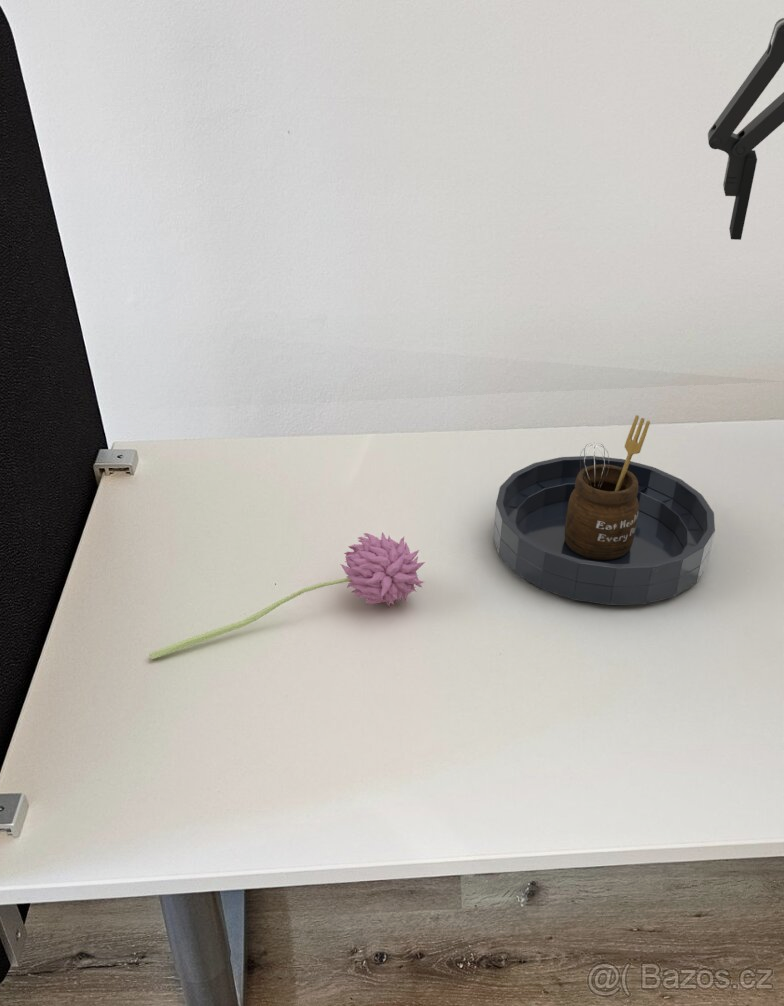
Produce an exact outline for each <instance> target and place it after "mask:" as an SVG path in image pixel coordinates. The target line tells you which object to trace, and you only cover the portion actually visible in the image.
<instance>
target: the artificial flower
mask: <svg viewBox="0 0 784 1006" xmlns="http://www.w3.org/2000/svg"><path fill="white" fill-rule="evenodd" d="M363 535H364V537H363V536H359V537H357V539H358V540H357V541H358V543H359V544H358V543H356V544H351V545H348V548H349V549H351V550H352V551H346V552H344V553H343V554H344V555H345V563H346V565H347V566H346V565H344V564H342V563H340V567H341V568H342V569H343V572H344V574H345V575H346V576H345V578H340V579H335V580H331V581H325V582H320V583H317V584H316V583H315V584H313V585H309V586H306V587H304V588H301V589H299V590H297V591H295V592H293V593H291V594H289V595H287V596H284V597H283V598H281V599H279V600H277V601H275V602H274V603H272V604H270V605H268V606H266V607H264V608H263V609H260V610H259V611H257V612H255V613H253V614H252V615H250V616H247V617H246V618H244V619H242V620H239V621H237V622H234V623H231V624H227V625H225V626H222V627H219V628H215V629H213V630H209V631H206V632H204V633H201V634H198V635H196V636H192V637H188V638H186V639H183V640H181V641H178V642H175V643H173V644H169V645H167V646H164V647H161V648H159V649H157V650H155V651H152V652H149V653H148V655H149V658H150V660H154V659H157V658H160V657H163V656H166V655H169V654H172V653H174V652H177V651H179V650H183V649H185V648H188V647H191V646H194V645H197V644H200V643H202V642H204V641H208V640H210V639H213V638H216V637H218V636H222V635H224V634H228V633H230V632H233V631H236V630H238V629H241V628H243V627H245V626H248V625H250V624H251V623H253V622H256V621H258V620H259V619H261V618H263V617H264V616H266V615H267V614H269V613H270V612H272V611H273V610H275V609H277V608H278V607H280V606H281V605H283V604H285V603H287V602H289V601H291V600H293V599H295V598H297V597H299V596H301V595H302V594H304V593H308V592H310V591H314V590H317V589H320V588H323V587H327V586H333V585H339V584H344V583H347V585H346V589H348V588H354V589H353V590H351V591H350V593H354V594H352V596H353V597H358V598H363V599H367V600H366V603H365V604H366V605H367V604H371V605H376V604H380V603H381V604H382V603H386V605H387V606H388V608H390V607H391V605H390V604H392V605H395V601H397V600H399V601H401V600H402V599H403V602H404V603H407V599H408V596H409V594H411V593H413V592H417V589H416V586H417V587H418V588H423V586H422V584H424V583H425V581H423V580H420V579H419V577H418V576H419V575H418V573H417V571H418V570H419V569H420V568H421V567H423V565H424V564H425V563H426V561H423V562H418V559H419V556H418V553H419V552H420V549H418V550H416V551H413V552H411V549H410V547H409V545H408V544H407V542H406V541H405V536H403V537H402V538H400V541H399V542H397V541H396V540H394V539H392V538H391V537H390V535H388V537H387V536H386V535H385V534H384V532H383V531H382V532H381V537H380V539H379V538H378V537H377V536H375V535H374V534H371V533H368V532H363ZM360 543H361V544H360Z"/></svg>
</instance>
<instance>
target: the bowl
mask: <svg viewBox="0 0 784 1006" xmlns="http://www.w3.org/2000/svg"><path fill="white" fill-rule="evenodd" d="M625 461H626V459H623V458H616V457H609V461H608V456H607V457H606V456H605V465H614V466H618V467H621V468H623V466H624V463H625ZM600 464H604V458H603V456H599V455H598V456H597V455H595V465H600ZM585 465H586V467H588V466H592V465H594V455H586V457H585ZM582 469H584V455H581V469H580V455H578V456H560V457H555V458H551V459H545V460H542V461H537V462H534V463H530V464H529V465H527V466H525V467H523V468H521V469H519V470H517V471H514V472H513V473H512V474H511V475H510V476H509V477H508V478H507V479H506V480H505V481H504V482H503V483H502V484H501V485H500V486H499V489H498V493H497V497H496V502H495V509H494V520H493V531H492V539H493V542H494V546H495V548H496V551H497V554H498V556H499V558H500V559H502V560H503V562H504V563H505V564H506V565H507V566H508V567H509V568H510V569H511V570H512V572H514V574H516V575H517V576H519V577H521V578H522V579H524V580H526V581H528V582H529V583H531V584H533V585H534V586H536V587H537V588H539V589H541V590H543V591H547V592H549V593H553V594H556V595H558V596H561V597H564V598H566V599H570V600H572V601H573V600H574V601H580V602H587V603H593V604H600V605H606V606H607V605H608V606H629V605H647V604H651V603H655V602H658V601H663V600H667V599H670V598H671V599H672V598H674V597H677V596H678V595H679V594H681V593H682V592H684V591H686V590H688V589H689V588H691V587H693V586H694V585H696V584H697V583H698V581H699V580H700V578H701V577H702V575H703V574H704V572H705V570H706V569H707V568H708V563H709V559H710V554H711V549H712V545H713V541H714V536H715V533H716V525H715V512H714V511H713V509H712V507H711V506H710V504H709V503H708V501H707V500H706V498H705V497H704V495H703V494H702V493H700V492H699V491H698V490H696V489H695V488H693V487H692V486H691V485H690V484H688V483H687V482H685V481H684V480H683V479H682V478H679V477H677V476H675V475H672V474H670V473H669V472H666V471H664V470H662V469H659V468H657V467H655V466H651V465H647V464H643V463H640V462H635V461H632V460H630V463H629V466H628V469H627V470H628V471H630V472H631V473H633V474H634V475H635V476H636V478H637V480H638V494H637V496H636V497H637V499H638V503H639V511H638V518H637V524H636V530H635V535H634V539H633V543H632V546H631V548H630V550H629V551H628V552H627V553H626V554H625V555H624V556H622V557H620V558H617V559H612V560H595V559H590V558H586V557H583V556H581V555H579V554H577V553H575V552H574V551H573V550H571V549H570V548H569V546H568V545H567V543H566V541H565V523H566V516H567V509H568V503H569V498H570V495H571V493H572V492H573V490H574V489H575V481H576V478H577V475H578V473H579V472H580V471H581V470H582Z"/></svg>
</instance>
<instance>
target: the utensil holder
mask: <svg viewBox="0 0 784 1006" xmlns="http://www.w3.org/2000/svg"><path fill="white" fill-rule="evenodd" d="M639 419H640V420H639ZM638 421H639V423H638ZM644 422H645V417H641V418H640V416H639V415H638V414H636V415H635V417H634V419H633V422H632V424H631V427H630V430H629V432H628V435H627V438H626V440H625V442H624V449H625V450H626V452H627V455H626V458H625V460H626V461H625V463H624V466H623V468H621V467H618V466H614V465H605V457H606V453H607V457H608V461H609V458H610V455H609V452H608V450H607V448H606V447H605V446H604V444H603V443H600V442H598V443H595V442H593V443H591V444H589V443H586V445H585V446H584V448H583V449H582V450H581V451H580V454H579V456H580V469H581V456H582V453H583V456H584V469H582V470H581V471H580V472H579V473H578V475H577V478H576V481H575V489H574V490H573V492H572V493H571V495H570V498H569V503H568V509H567V516H566V523H565V541H566V543H567V545H568V546H569V548H570V549H571V550H573V551H574V552H575V553H577V554H579V555H581V556H583V557H586V558H590V559H595V560H612V559H617V558H620V557H622V556H624V555H625V554H626V553H627V552H628V551H629V550H630V548H631V546H632V543H633V539H634V535H635V530H636V524H637V518H638V511H639V503H638V499H637V497H636V496H637V494H638V480H637V478H636V476H635V475H634V474H633V473H631V472H630V471H628V470H627V469H628V466H629V463H630V461H632V458H633V456H634V455H638V454H640V453H641V451H642V447H643V445H644V442H645V439H646V436H647V433H648V430H649V427H650V424H651V421H650V420H647V421H646V422H645V423H644ZM644 424H645V425H644ZM637 425H638V426H637ZM643 426H644V427H643ZM635 430H636V431H635ZM634 433H635V434H634ZM640 434H641V435H640ZM588 447H591V448H593V456H594V465H592V466H588V467H586V465H585V457H586V456H587V454H588V452H589V451H590V449H587V451H586V448H588ZM599 447H601V448H603V452H602V450H601V449H600V448H599ZM596 448H597V449H598V450H599V452H600V453H601V455H602V457H603V458H604V464H600V465H595V456H596ZM605 451H606V452H605Z"/></svg>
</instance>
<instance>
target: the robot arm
mask: <svg viewBox="0 0 784 1006" xmlns="http://www.w3.org/2000/svg"><path fill="white" fill-rule="evenodd" d="M783 64H784V17H782V18H780V19H778V20H777V21H776V22H775V24H774V26H773V30H772V32H771V36H770V39H769V42H768V46H767V48H766V50H765V51H764V53H763V54H762V55H761V57H760V59H758V61H757V63H756V64H755V65H754V67H753V68H752V70H751V71H750V72H749V74H748V75H747V77H746V78H745V79H744V81H743V82H742V84H741V85H740V87H739V88H738V89H737V90H736V92H735V93H734V95H733V96H732V97H731V98H730V100H729V102H728V103H727V104H726V106H725V107H724V109H723V111H722V112H721V113H720V115H719V116H718V117H717V119H716V120H715V121H714V123H713V125H712V126H711V127H710V129H709V130H708V132H707V142H708V145H709V148H711V149H712V150H719V151H722V152H724V153H726V154H727V155H728V158H727V161H726V162H727V163H726V168H725V173H724V180H723V184H722V186H723V193H724V195H725V197H735V198H734V203H733V208H732V212H731V218H730V223H729V237H730V240H736V241H737V240H738V241H739V240H742V238H743V232H744V227H745V221H746V217H747V212H748V207H749V204H750V203H749V202H750V197H751V192H752V188H753V183H754V178H755V172H756V167H757V162H758V157H757V153H756V150H754V149H755V148H756V147H757V146H758V145H759V144H761V143H762V142H763V141H764V140H765V139H767V138H768V137H769V136H770V135H771V134H772V133H773V132H774V131H776V129H778V128H779V127H780V126H781V125H783V123H784V91H783V92H782V93H781V94H780V95H779V96H777V97H776V98H775V99H774V100H773V101H772V102H771V103H769V104H768V106H767V107H766V108H764V109H763V110H762V111H761V112H760V113H759V114H758V115H757V116H755V117H754V118H753V119H752V120H751V121H750V122H748V123H747V124H746V125H745V126H744V127H743V128H742V129H741V130H740V131H738V132H737V133H735V131H736V130H737V128H738V127H739V125H740V124H741V123H742V121H743V120H744V118H745V117H746V116H747V114H748V113H749V112H750V110H751V109H752V108H753V106H754V105H755V103H756V102H757V101H758V99H759V98H760V97H761V95H762V94H763V93H764V91H765V90H766V88H767V87H768V85H769V84H770V83H771V81H772V80H773V79H774V77H775V76H776V75H777V73H778V72H779V70H780V68H781V67H782V66H783Z"/></svg>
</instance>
